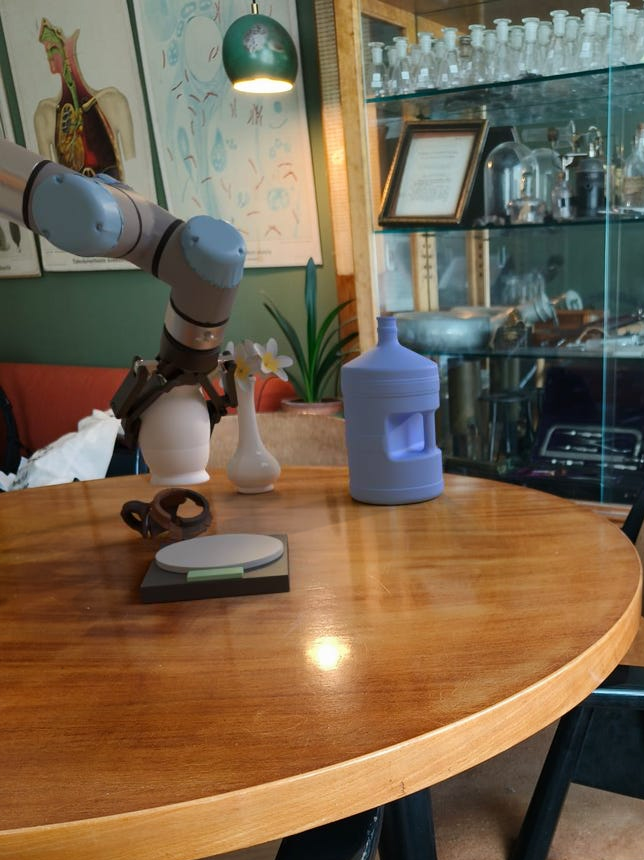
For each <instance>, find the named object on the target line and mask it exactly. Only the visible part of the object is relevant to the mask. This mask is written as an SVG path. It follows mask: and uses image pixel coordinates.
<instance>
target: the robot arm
mask: <svg viewBox="0 0 644 860" xmlns="http://www.w3.org/2000/svg"><path fill="white" fill-rule="evenodd" d="M0 218H2V219H4V220H6V221H8V222H11V223H13V224H15V225H18V226H20V227H21V228H25V229H26V230H29V231H31V232H33V233H35V234H36V235H38V236H40V237H42V238H44V239H45V240H46V241H47V242H48V243H50V244H51V245H52V246H53V247H55V248H56V249H58V250H59V251H63V252H65V253H68V254H71V255H74V256H75V257H80V258H86V259H87V258H104V259H105V258H107V259H116V260H123V261H126V262H128V263H130V264H132V265H134V266H135V267H137V268H139V269H141V270H142V271H145V272H146V273H148V274H150V275H151V276H153V277H154V278H155V279H157V280H159V281H161V282H163V283H165V284H167V285H169V286H170V293H169V298H168V302H167V307H166V310H165V311H166V312H165V316H164V323H163V326H162V332H161V337H160V341H159V352H158V353H157V355H156V356H155V357H154V359H145V360H144V359H143V357H142V356H141V355H135V356H133V358H132V360H131V368H130V370H129V371H128V373H127V374H126V376H125V377H124V379H123V381H122V382H121V384H120V385H119V387H118V388H117V390H116V391H115V393H114V394H113V396H112V398H111V400H110V401H109V403H108V405H109V407H110V409H111V411H112V414H113V415H114V417H115V420H120V423H119V424H120V426H121V429H122V430H123V438H124V440H125V443H126V446H127V448H128V450H129V452H135V451H137V446H138V436H139V431H140V426H141V419H140V417H139V416H140V415H141V414H142V413H143V412H144V411H145V410H146V409H147V408H148V407H150V406H151V405H152V404H153V403H154V402H155V401H156V400H157V399H158V398H159V397H160V396H161V395H162V394H163V393H169V392H170V391H171V390H172V389H173V388H174V387H178V386H183V385H196V383H200V385H201V386H202V388H201V389H203V391H205V393H206V394H207V396H208V398H209V399H205V401H206V404H207V408H208V413H209V419H210V441H209V443H210V442H211V439H212V435H213V432H214V429H215V426H216V425H218V424H219V423H220V422H221V421H222V417H226V416H228V414H229V411H228V409H227V408H230V409H237V406H238V399H237V392H236V385H235V378H234V374H235V371H236V368H237V364H236V362H235V360H234V358H233V356H232V354H231V352H230V351H228V350H227V351H225V350H224V351H222V353H221V350H222V347H223V341H224V340H225V339H224V338H225V336H226V332H227V328H228V325H229V322H230V317H231V314H232V310H233V306H234V303H235V300H236V298H237V294H238V290H239V288H240V284H241V282H242V281H243V278H244V277H243V275H244V267H245V263H246V258H247V243H246V241H245V239H244V237H243V235H242V234H241V232H240V231H239V230H238V229H237V228H236V227H235V226H234V225H232V224H231V223H230V222H228V221H226V220H224V219H222V218H219V219H216V218H214V217H213V216H212V215H208V214H198V215H195V216H193V217H191V218H189V219H188V220H187V221H185V220H183V219H182V218H179V217H177V216H176V215H174V214H172V213H171V212H169V211H168V210H166V209H165V208H164V207H161V205H158V204H157V203H155V202H153V201H152V200H150V199H149V198H147V197H146V196H144V195H142V194H141V193H139V192H138V191H136V190H135V189H134V188H133V187H132V186H130V185H128V184H127V183H123V182H121V180H117V179H116V178H113V177H112V176H110V175H108V174H106V173H96V174H94V176H93V177H88V176H87V175H84V174H82V173H81V172H78V171H76V170H73V169H71V168H69V167H67V166H65V165H63V164H61V163H59V162H56V161H53V160H51V159H49V158H47V157H45V156H43V155H41V154H39V153H37V152H34V151H32V150H30V149H29V148H26V147H24V146H21V145H19V144H17V143H16V142H12V141H10V140H9V139H6V138H4V137H3V136H0ZM219 355H222V356H219ZM217 366H218V367H219V369H220V371H221V377H222V383H223V388H222V389H223V394H222V395H220V394H219V392H218V390H217V389H216V387H215V385H214V384H213V382H211V381H210V379H209V378H208V375H209V374H210V373H211V372H212V371H214V370H215V369H216V368H217ZM147 379H148V380H147ZM164 379H165V380H166V381H167V382H165V380H164Z"/></svg>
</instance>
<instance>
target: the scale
mask: <svg viewBox="0 0 644 860" xmlns="http://www.w3.org/2000/svg"><path fill="white" fill-rule="evenodd" d="M139 591H140V595H141V603H142V604H143V605H148V604H160V603H171V602H172V603H173V602H182V601H193V600H194V601H195V600H206V599H216V598H217V599H218V598H229V597H239V596H250V595H251V596H253V595H263V594H274V593H275V594H276V593H285V592H286V593H287V592H291V578H290V546H289V537H288V533H283V534H269V535H268V534H267V535H264V534H263V535H262V534H256V533H227V534H226V533H225V534H213V535H206V536H199V537H194V538H192V539H189V540H185V541H181V542H173V543H166V542H162V543H160V545H159V548H158V550H157V552H156V553H155V555H154V557H153V560H152V561H151V564H150V565H149V568H148V570H147V572H146V574H145V576H144V578H143V580H142V582H141V584H140V586H139Z"/></svg>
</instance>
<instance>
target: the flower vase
mask: <svg viewBox="0 0 644 860" xmlns="http://www.w3.org/2000/svg"><path fill="white" fill-rule="evenodd" d="M243 341H244V342H243V344H244V345H243V344H242V343H237V344H236V345H235V346H234V342H233V341H228V342H227V344H226V346H225V350H224V351H227V350H228V351H230V352H231V354H232V356H233V358H234V360H235V362H236V364H237V368H236V371H235V374H234V378H235V385H236V392H237V399H238V406H237V407H236V411H237V412H236V413H237V423H238V424H237V425H238V441H237V446H236V449H235V452H234V454H233V455H232V456H231V458H230V459H229V460H228V462H227V464H226V467H225V476H226V478H227V480H228V481H229V482H230V483H231V484H232V485H234V486H236V487H237V488H236V490H237V492H238V493H240V494H249V495H252V494H263V493H267V492H268V493H269V492H270V491H273V490H274V489H275V486H274V483H276V482H277V481H278V480H279V478H280V476H281V474H282V467H281V464H280V463H279V461H278V460H277V458H276V457H275V456H274V455H273V454H271V453H270V452H269V451H268V449H267V448H266V446H265V444H264V443H263V441H262V437H261V435H260V431H259V425H258V419H257V413H256V405H255V387H256V386H255V385H256V382H257V377H256V376H255V375H254V374H257V376H258V377H259V378H260V380H262V381H267V380H268V378H269V374H271V373H273V374H274V375H276V377H278V378H279V379H280V380H282V381H283V382H288V381H289V377H288V375H287V373H286V372H285V371H284V368H289V367H291V366H292V365H293V364H294V361H293V359H292V358H291V357H289V356H287V355H277V354H278V349H279V348H278V344H277V341H276V339H275V338H273V337H271V338H269V339H268V341H267V342H266V343H264V344H263V345H261V344H260V343H257V342H254V343H253V341H252V340H250V339H247V338H246V339H244V340H243ZM219 356H222V354H219ZM208 378H209V379H210V381H211V382H212V383H214V382H217V381H218V380H219V381H218V387H220V388H221V389H223V383H222V377H221V371H220V369H219V367H218V366H217V368H216V369H215V370H214V371H212V372H211V373H210V374H209V375H208ZM201 389H203V388H202V387H201Z"/></svg>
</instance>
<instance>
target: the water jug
mask: <svg viewBox="0 0 644 860" xmlns="http://www.w3.org/2000/svg"><path fill="white" fill-rule="evenodd" d="M375 319H376V321H377V328H376V332H377V343H376V344H375V346H373V347H371V348H370V349H368V350H367V351H365V352H363V353H362V354H359V356H357V357H355V358H353V359H351V360H350V361H348V362H346V363H345V364H343V365H341V368H340V377H341V378H340V389H341V394H342V401H343V402H342V403H343V414H344V416H343V417H344V429H345V430H344V439H345V446H346V452H347V464H348V477H349V481H348V489H349V495H350V496H351V497H352V498H353V500H355V501H357V502H360V503H364V504H370V505H382V506H384V505H386V506H390V505H391V506H394V505H396V506H397V505H407V504H408V505H409V504H417V503H422V502H427V501H430V500H434V499H436V498H438V497H439V496H441V495H442V494H443V492H444V490H445V482H444V481H445V480H444V476H443V459H442V458H443V456H442V455H443V453H442V450H441V449H440V448H439V447H437V446H436V445H437V444H436V425H435V424H436V422H435V420H436V419H435V413H436V411H437V410H438V409H439V408H440V406H441V405H440V389H441V388H440V375H439V366H438V363H436V362H435V361H433V360H432V359H430V358H428V357H425V356H424V355H421V354H420V353H417V352H415V351H413V350H411V349H409V348H407V347H406V346H403V345H401V344H400V343H399V340H398V326H397V319H398V317H397V316H396V315H394V316H393V315H392V316H391V315H390V316H376V317H375Z"/></svg>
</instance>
